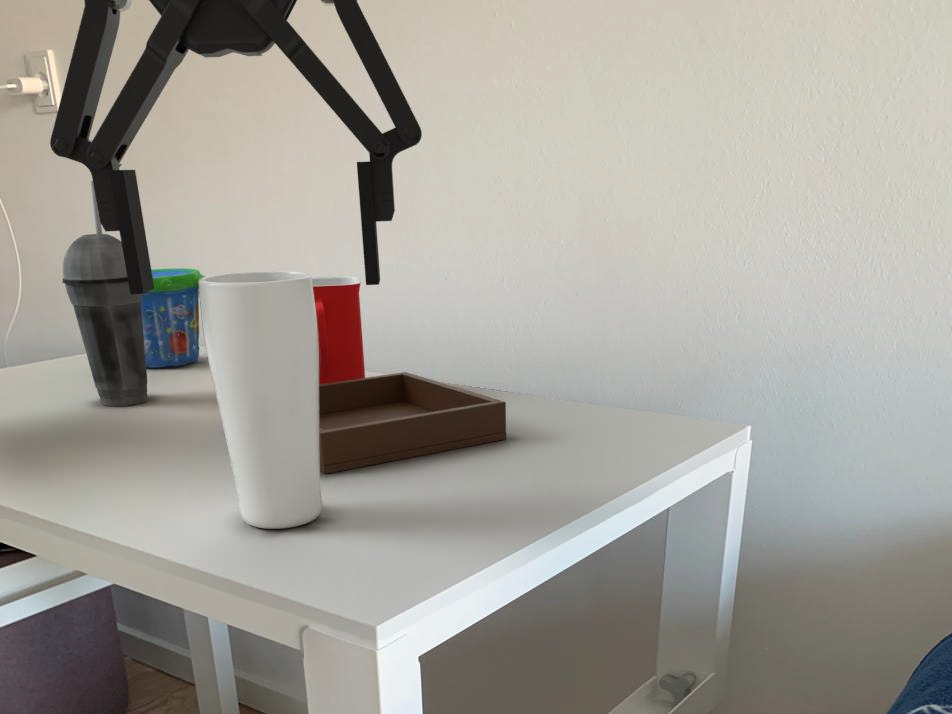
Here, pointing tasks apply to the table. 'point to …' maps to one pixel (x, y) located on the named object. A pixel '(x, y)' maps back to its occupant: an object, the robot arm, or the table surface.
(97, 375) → the beverage cup
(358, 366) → the mug
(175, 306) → the snack cup
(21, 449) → the table surface
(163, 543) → the table surface
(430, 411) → the serving tray
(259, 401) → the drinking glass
